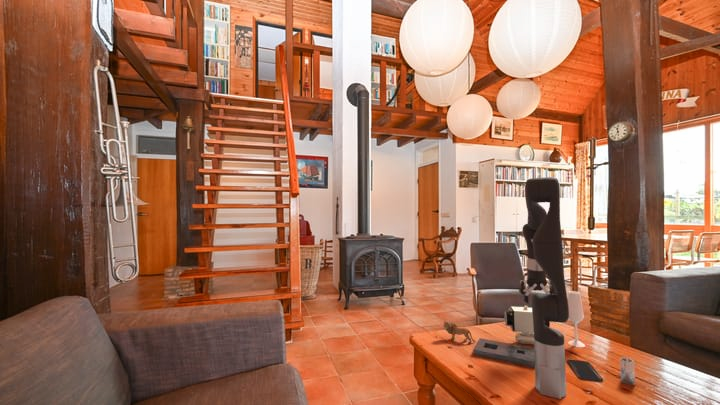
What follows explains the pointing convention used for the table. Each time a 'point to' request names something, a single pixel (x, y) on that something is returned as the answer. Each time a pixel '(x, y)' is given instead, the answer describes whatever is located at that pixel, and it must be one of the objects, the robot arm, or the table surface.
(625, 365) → the flashlight
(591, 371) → the phone
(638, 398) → the table surface
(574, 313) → the champagne flute
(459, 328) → the lion figurine
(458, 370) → the table surface
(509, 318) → the security camera
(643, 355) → the table surface
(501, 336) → the table surface
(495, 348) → the grey board with holes
